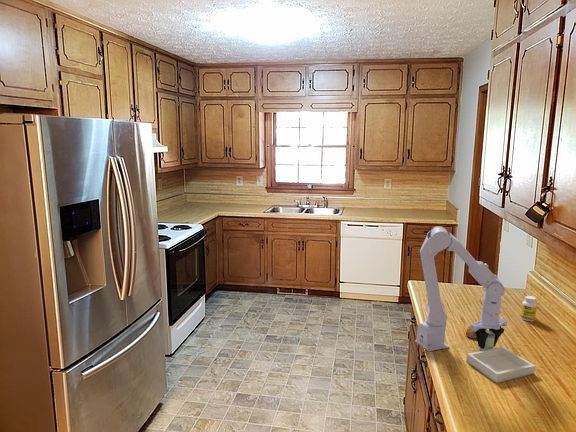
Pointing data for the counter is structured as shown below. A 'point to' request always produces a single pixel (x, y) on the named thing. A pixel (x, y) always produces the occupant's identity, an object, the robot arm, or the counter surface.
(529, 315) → the supplement bottle
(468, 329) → the pastry
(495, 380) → the bin
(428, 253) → the robot arm
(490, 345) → the tin
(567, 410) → the counter surface
